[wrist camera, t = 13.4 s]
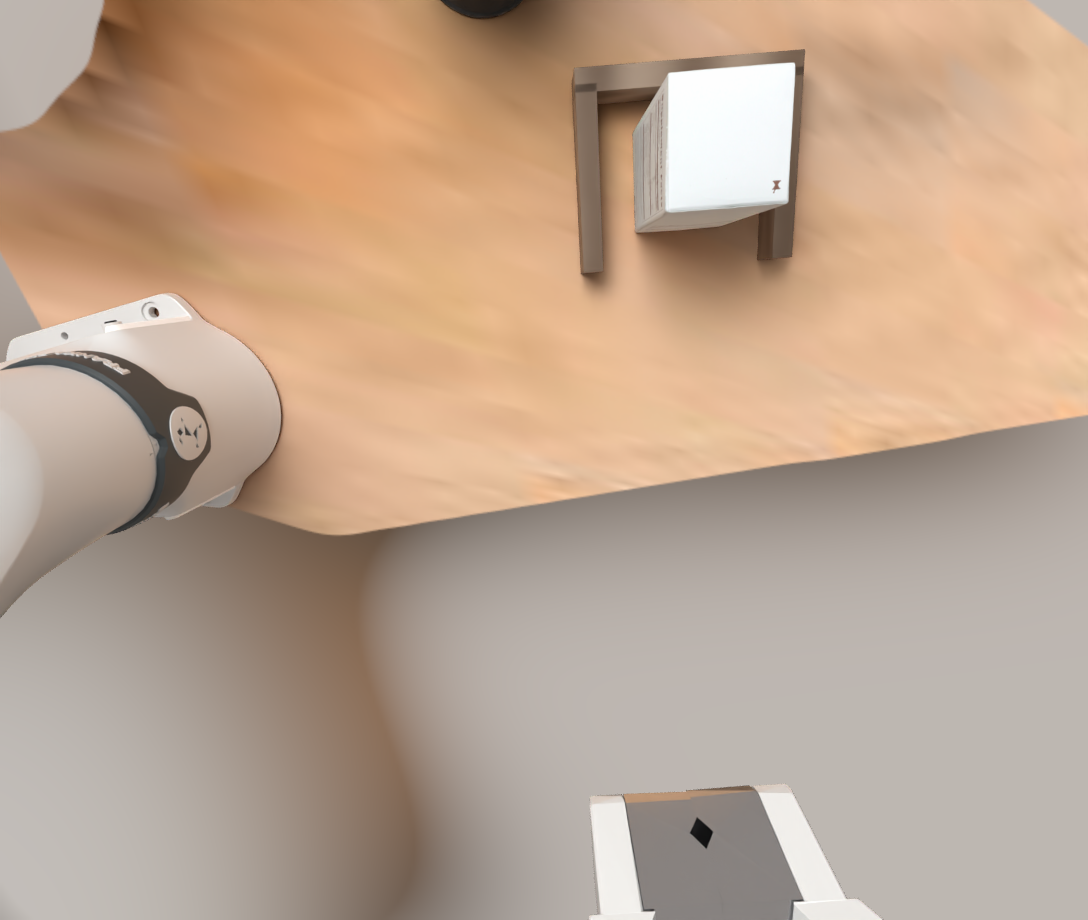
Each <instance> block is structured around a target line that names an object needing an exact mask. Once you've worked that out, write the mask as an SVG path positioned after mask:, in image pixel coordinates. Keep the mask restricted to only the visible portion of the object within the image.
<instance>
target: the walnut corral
mask: <svg viewBox="0 0 1088 920" xmlns="http://www.w3.org/2000/svg"><path fill="white" fill-rule="evenodd" d="M804 58H805V49H803V50H790V51H778V52H766V53H753V54H741V55H729V56H716V57H704V58H692V59H679V60H667V61H655V62H642V63H630V64H617V65H605V66H593V67H580V68H574V72H573V78H572V101H573V121H574V142H575V162H576V183H577V203H578V223H579V244H580V264H581V273H594V272H602V271H603V249H602V222H601V195H600V168H599V141H598V114H597V104H607V103H619V102H632V101H644V100H653V98H654V97H655V95H656V93H657V92H658V90H659V88H660V87H661V85H662V83H663V82H664V80H665V78H666V77H667V75H668V73H671V72H683V71H693V70H704V69H716V68H728V67H740V66H752V65H763V64H777V63H795V86H794V102H793V120H792V137H791V153H790V175H789V202H788V203H787V204H785V205H782V206H779V207H776V208H773V209H770V210H767V211H764V212H761V213H759V233H758V255H757V260H764V259H777V258H786V257H792V247H793V231H794V215H795V200H796V184H797V168H798V152H799V137H800V121H801V105H802V89H803V74H804Z"/></svg>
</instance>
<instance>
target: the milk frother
mask: <svg viewBox="0 0 1088 920" xmlns="http://www.w3.org/2000/svg"><path fill="white" fill-rule="evenodd" d="M441 1H442V2H444V3H445V4H446V5H447V6H449V7H450V8H452V9H454V10H455V11H457V12H459V13H461V14H464V15H467V16H470V17H475V18H490V17H496V16H498V15H502V14H504V13H505V12H508V11H510V10H511V9H513V8H514V7H516V6H517V5H518V4H520V3H521V2H522V1H523V0H441Z"/></svg>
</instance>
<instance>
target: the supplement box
mask: <svg viewBox="0 0 1088 920" xmlns="http://www.w3.org/2000/svg"><path fill="white" fill-rule="evenodd" d="M794 86H795V63H777V64H763V65H752V66H740V67H728V68H716V69H704V70H693V71H683V72H671V73H668V75H667V77H666V78H665V80H664V82H663V83H662V85H661V87H660V88H659V90H658V92H657V93H656V95H655V97H654V98H653V100H652V102H651V103H650V105H649V107H648V108H647V110H646V112H645V113H644V115H643V117H642V118H641V120H640V122H639V123H638V125H637V126H636V128H635V130H634V132H633V134H632V136H633V169H634V218H635V232H636V233H640V232H659V231H675V230H687V229H698V228H709V227H720V226H723V225H726V224H729V223H732V222H735V221H737V220H741V219H744V218H746V217H749V216H752V215H755V214H758V213H761V212H764V211H767V210H770V209H773V208H776V207H779V206H782V205H785V204H787V203H788V202H789V175H790V153H791V137H792V120H793V102H794Z"/></svg>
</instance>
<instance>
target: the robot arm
mask: <svg viewBox="0 0 1088 920" xmlns="http://www.w3.org/2000/svg"><path fill="white" fill-rule="evenodd" d="M155 308H157V309H158V311H159V316H158V317H157V316H156V315H155V313H154V309H155ZM280 426H281V409H280V402H279V398H278V394H277V391H276V388H275V386H274V383H273V381H272V379H271V377H270V375H269V373H268V372H267V370H266V369H265V367H264V366H263V364H262V363H261V362H260V360H259V359H258V358H257V357H256V356H255V354H254V353H253V352H252V351H251V350H250V349H249V348H247V347H246V346H245V345H244V344H243V343H241V342H240V341H239V340H237V339H236V338H234V337H233V336H231V335H230V334H228V333H226V332H224V331H222V330H220V329H218V328H217V327H215V326H213V325H211V324H209V323H208V322H206V321H205V320H203V319H202V318H201V316H200V315H199V314H198V313H197V312H196V311H195V310H194V309H193V308H192V307H191V306H190V305H189V304H188V303H187V302H186V301H185V300H184V299H183V298H181V297H180V296H178V295H177V294H174V293H164V294H159V295H155V296H152V297H149V298H145V299H142V300H139V301H135V302H132V303H129V304H125V305H122V306H119V307H115V308H112V309H109V310H105V311H102V312H99V313H95V314H92V315H89V316H85V317H82V318H79V319H76V320H72V321H69V322H66V323H62V324H59V325H56V326H52V327H49V328H46V329H42V330H39V331H36V332H32V333H29V334H26V335H23V336H19V337H17V338H14V339H13V340H11V342H10V344H9V347H8V351H7V356H6V362H3V363H0V618H1V617H2V616H3V615H4V614H5V612H6V611H7V610H8V609H9V608H10V606H11V605H12V604H13V603H14V602H15V601H16V600H17V599H18V598H19V597H20V596H21V595H22V594H23V593H24V592H25V591H26V590H27V589H28V588H29V587H31V586H32V585H33V584H34V583H35V582H36V581H38V580H39V579H40V578H41V577H43V576H44V575H46V574H47V573H48V572H50V571H51V570H53V569H54V568H56V567H57V566H58V565H60V564H61V563H63V562H64V561H66V560H67V559H69V558H70V557H72V556H73V555H75V554H76V553H78V552H79V551H81V550H82V549H84V548H85V547H87V546H89V545H90V544H92V543H93V542H95V541H97V540H98V539H100V538H101V537H103V536H105V535H109V534H114V533H118V532H121V531H124V530H126V529H128V528H130V527H133V526H136V525H138V524H141V523H143V522H145V521H147V520H149V519H151V518H152V517H164V518H165V519H166V520H171V519H176V518H178V517H180V516H182V515H184V514H186V513H188V512H190V511H192V510H194V509H196V508H197V507H199V506H205V507H214V508H222V507H226V506H228V505H230V504H232V503H233V502H234V501H235V500H236V498H237V497H238V495H239V493H240V491H241V488H242V486H243V483H244V481H245V479H246V478H247V477H248V476H249V475H250V474H251V473H252V472H254V471H255V470H256V469H257V468H259V467H260V466H261V465H262V464H263V463H264V462H265V461H266V459H267V458H268V457H269V455H270V454H271V452H272V451H273V449H274V447H275V445H276V442H277V440H278V436H279V432H280ZM590 817H591V834H592V850H593V865H594V880H595V893H596V903H597V914H596V915H590V916H589V919H588V920H883V919H882V918H881V917H880V916H879V915H877V914H876V913H875V912H874V911H873V910H871V909H870V908H869V907H868V906H867V905H866V904H865V903H863V902H862V901H861V900H860V899H858V898H855V899H854V898H849V899H847V897H846V895H845V893H844V892H843V889H842V887H841V885H840V883H839V881H838V880H837V878H836V875H835V874H834V872H833V870H832V868H831V866H830V864H829V862H828V860H827V858H826V856H825V854H824V852H823V850H822V848H821V846H820V844H819V842H818V840H817V838H816V836H815V834H814V832H813V831H812V828H811V826H810V824H809V823H808V821H807V819H806V817H805V815H804V813H803V811H802V809H801V807H800V805H799V803H798V801H797V799H796V797H795V795H794V793H793V791H792V790H791V789H790V788H789V787H788V786H787V785H786V784H774V785H759V786H752V787H750V786H736V787H724V788H711V789H700V790H699V789H698V790H688V791H687V790H686V792H668V793H639V794H623V796H622V794H621V795H620V794H619V795H600V796H599V795H598V796H590Z"/></svg>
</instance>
